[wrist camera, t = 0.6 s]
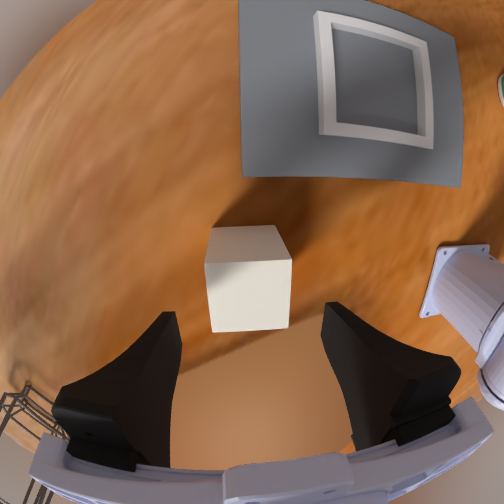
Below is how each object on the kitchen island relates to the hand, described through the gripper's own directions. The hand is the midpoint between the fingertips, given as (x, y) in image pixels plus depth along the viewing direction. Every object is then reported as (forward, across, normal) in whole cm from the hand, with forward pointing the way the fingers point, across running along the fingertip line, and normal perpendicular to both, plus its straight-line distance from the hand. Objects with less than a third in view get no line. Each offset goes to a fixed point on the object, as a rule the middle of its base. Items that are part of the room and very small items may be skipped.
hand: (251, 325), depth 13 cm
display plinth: (+8, -9, -13) cm, 18 cm away
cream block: (+8, 0, 0) cm, 8 cm away
